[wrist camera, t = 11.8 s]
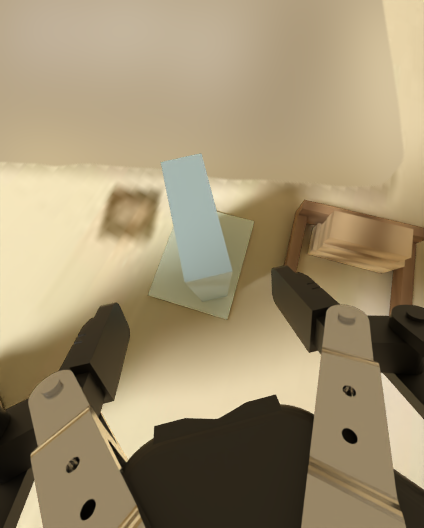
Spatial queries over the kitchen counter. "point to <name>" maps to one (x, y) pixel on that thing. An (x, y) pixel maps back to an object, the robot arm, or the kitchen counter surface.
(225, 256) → the pale blue rectangular block
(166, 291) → the felt mat
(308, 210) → the walnut rack
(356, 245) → the offcut stack
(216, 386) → the kitchen counter surface
